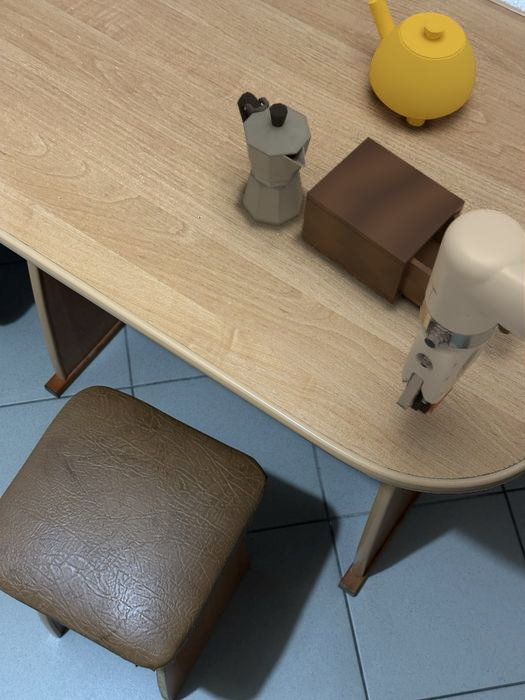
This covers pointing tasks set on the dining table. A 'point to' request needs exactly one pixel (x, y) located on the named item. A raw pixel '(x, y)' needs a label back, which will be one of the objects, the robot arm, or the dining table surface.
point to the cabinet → (376, 215)
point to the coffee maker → (273, 158)
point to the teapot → (421, 64)
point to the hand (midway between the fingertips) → (428, 390)
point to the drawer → (425, 269)
